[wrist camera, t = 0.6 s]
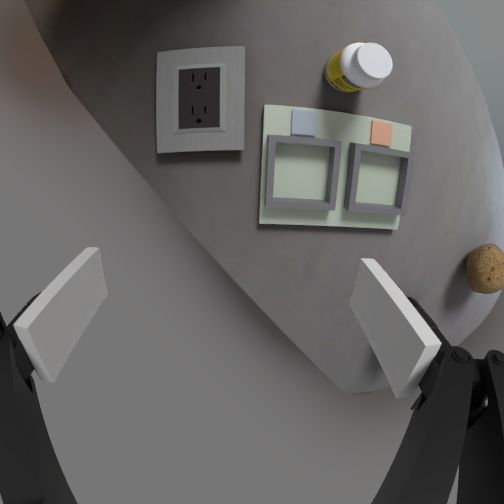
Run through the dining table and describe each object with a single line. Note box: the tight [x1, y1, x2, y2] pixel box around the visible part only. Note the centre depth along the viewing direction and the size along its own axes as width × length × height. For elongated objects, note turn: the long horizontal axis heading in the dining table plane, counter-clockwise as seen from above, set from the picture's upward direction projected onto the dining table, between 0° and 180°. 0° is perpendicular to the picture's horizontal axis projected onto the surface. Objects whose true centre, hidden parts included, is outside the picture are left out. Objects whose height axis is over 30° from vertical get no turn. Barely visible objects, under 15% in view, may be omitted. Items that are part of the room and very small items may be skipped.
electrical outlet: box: [156, 46, 245, 153], centre depth 31 cm, size 13×10×2 cm
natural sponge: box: [467, 244, 504, 294], centre depth 37 cm, size 9×9×10 cm
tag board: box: [259, 105, 414, 229], centre depth 34 cm, size 15×20×3 cm
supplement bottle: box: [324, 43, 393, 92], centre depth 26 cm, size 5×5×10 cm
